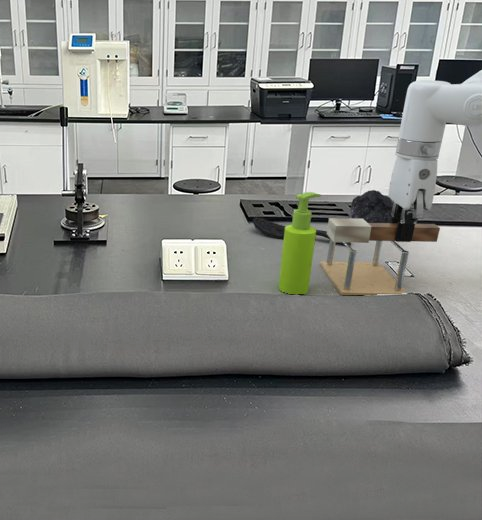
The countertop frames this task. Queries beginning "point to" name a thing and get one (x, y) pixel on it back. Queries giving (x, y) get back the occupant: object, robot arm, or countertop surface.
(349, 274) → the wire rack
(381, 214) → the crystal cluster
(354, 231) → the cleaning brush
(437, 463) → the countertop surface
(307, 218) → the soap dispenser
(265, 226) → the hairbrush
